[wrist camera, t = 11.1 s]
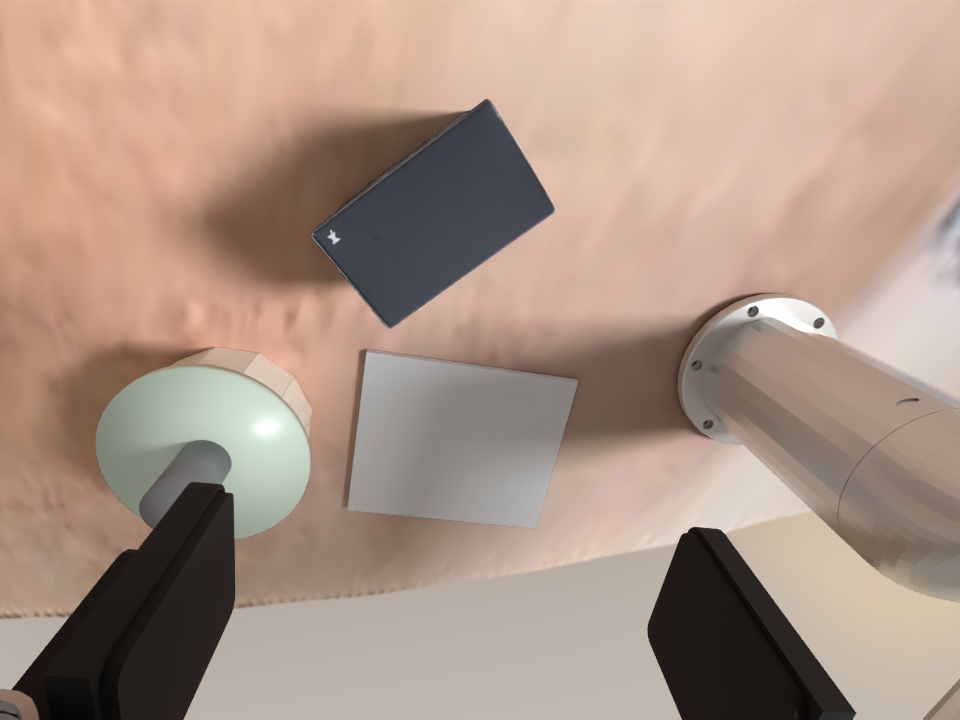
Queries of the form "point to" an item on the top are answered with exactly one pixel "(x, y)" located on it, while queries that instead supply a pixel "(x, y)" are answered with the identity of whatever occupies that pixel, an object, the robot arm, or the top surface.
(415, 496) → the mat
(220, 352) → the bowl
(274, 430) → the lid
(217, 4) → the top surface
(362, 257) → the small box
